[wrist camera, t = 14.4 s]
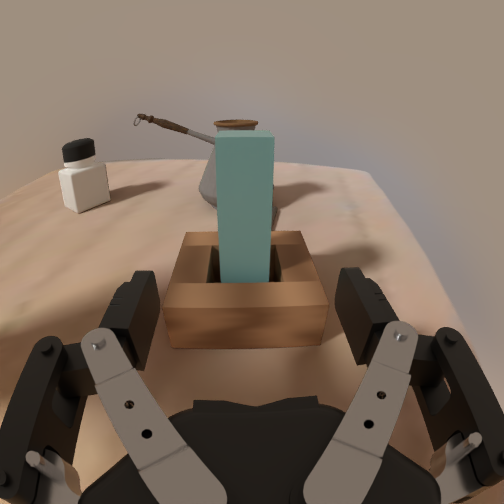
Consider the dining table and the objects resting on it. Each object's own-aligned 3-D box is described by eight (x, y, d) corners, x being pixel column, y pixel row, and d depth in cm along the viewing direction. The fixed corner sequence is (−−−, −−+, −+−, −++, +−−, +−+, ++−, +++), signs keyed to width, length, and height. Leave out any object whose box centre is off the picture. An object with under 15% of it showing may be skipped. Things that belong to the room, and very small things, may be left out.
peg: (223, 315, 24) (215, 137, 17) (224, 288, 27) (219, 130, 20) (266, 314, 24) (274, 137, 17) (264, 288, 27) (269, 130, 20)
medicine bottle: (111, 200, 48) (103, 135, 42) (77, 214, 43) (66, 145, 37) (95, 194, 52) (87, 136, 46) (64, 207, 47) (53, 145, 41)
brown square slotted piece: (171, 347, 21) (162, 307, 19) (189, 267, 30) (186, 232, 28) (320, 344, 21) (329, 304, 19) (296, 265, 31) (300, 230, 29)
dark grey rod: (259, 263, 31) (259, 257, 30) (251, 263, 31) (251, 256, 31) (277, 210, 43) (277, 205, 43) (272, 210, 44) (272, 205, 43)
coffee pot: (272, 192, 51) (274, 106, 43) (274, 218, 41) (278, 109, 33) (154, 192, 51) (147, 111, 44) (129, 217, 42) (118, 118, 34)
